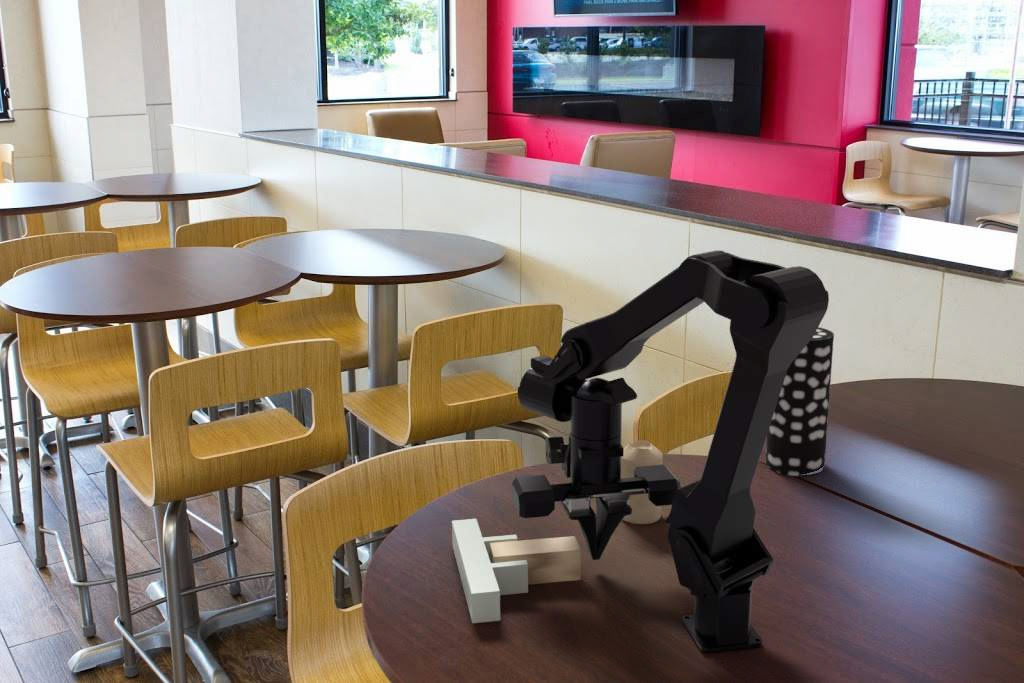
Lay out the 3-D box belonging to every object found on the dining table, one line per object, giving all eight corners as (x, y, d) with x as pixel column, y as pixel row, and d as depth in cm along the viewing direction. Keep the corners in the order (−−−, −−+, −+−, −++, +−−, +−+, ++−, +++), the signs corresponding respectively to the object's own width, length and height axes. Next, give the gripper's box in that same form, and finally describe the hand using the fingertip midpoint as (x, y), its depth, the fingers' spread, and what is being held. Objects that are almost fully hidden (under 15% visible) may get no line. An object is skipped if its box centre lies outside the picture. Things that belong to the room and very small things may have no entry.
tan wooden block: (494, 589, 115) (493, 557, 114) (490, 574, 119) (489, 543, 118) (580, 581, 117) (581, 549, 116) (574, 567, 120) (574, 536, 119)
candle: (659, 526, 130) (661, 453, 127) (616, 523, 131) (617, 450, 128) (662, 508, 135) (664, 437, 132) (620, 505, 136) (621, 435, 133)
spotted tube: (763, 473, 146) (770, 338, 141) (766, 452, 154) (774, 323, 148) (824, 478, 144) (833, 342, 138) (824, 457, 151) (833, 327, 146)
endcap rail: (537, 616, 109) (536, 587, 108) (472, 623, 108) (471, 593, 107) (508, 541, 126) (508, 515, 125) (452, 546, 125) (451, 520, 124)
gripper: (653, 403, 124) (650, 521, 128) (502, 414, 121) (504, 535, 125) (684, 435, 113) (680, 562, 117) (519, 448, 110) (521, 579, 114)
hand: (595, 558), depth 119 cm, fingers closed
